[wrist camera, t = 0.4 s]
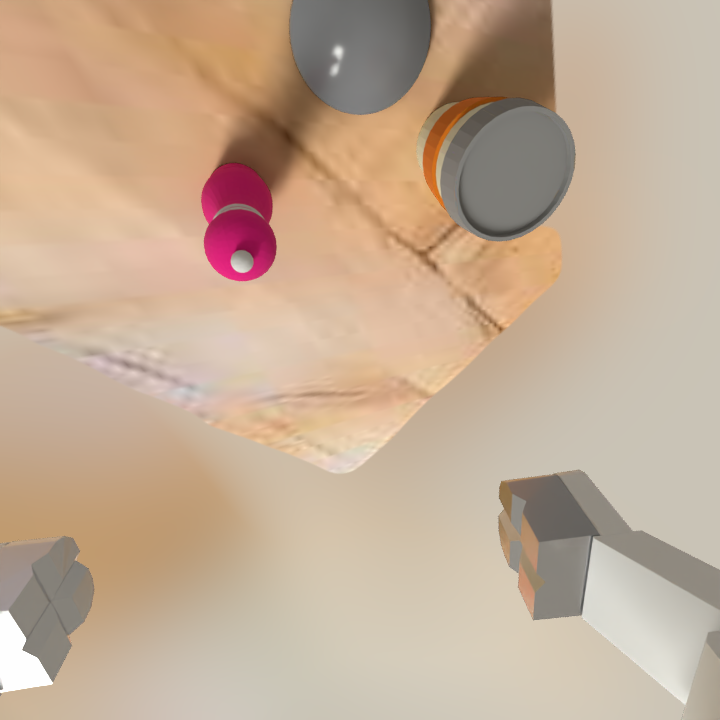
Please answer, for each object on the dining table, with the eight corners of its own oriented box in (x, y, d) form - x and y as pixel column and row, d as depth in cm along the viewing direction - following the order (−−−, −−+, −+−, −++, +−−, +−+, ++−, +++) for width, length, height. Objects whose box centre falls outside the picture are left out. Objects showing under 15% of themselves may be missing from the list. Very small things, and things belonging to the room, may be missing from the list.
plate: (320, -96, 40) (322, -99, 40) (451, -10, 46) (455, -11, 45) (269, 77, 47) (270, 78, 46) (390, 134, 53) (393, 136, 52)
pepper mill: (260, 152, 51) (277, 212, 35) (275, 217, 55) (296, 296, 39) (193, 164, 50) (180, 231, 34) (214, 229, 54) (210, 315, 38)
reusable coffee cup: (464, 214, 60) (523, 261, 49) (382, 173, 55) (426, 215, 43) (522, 116, 55) (604, 142, 43) (437, 59, 50) (505, 72, 38)
